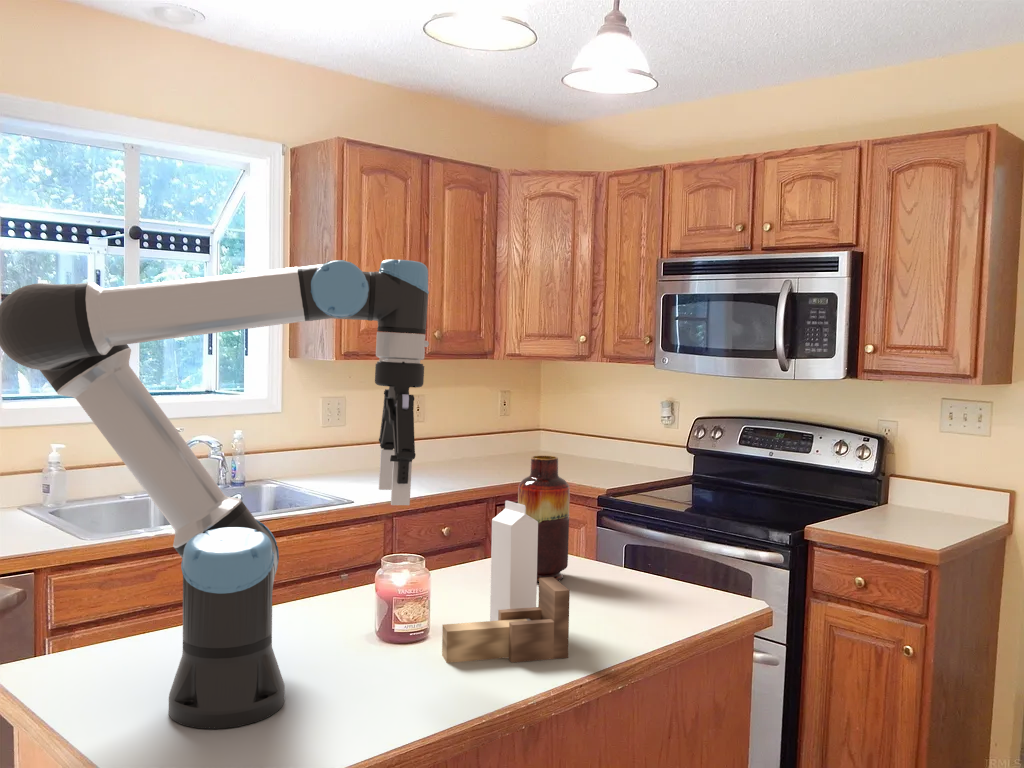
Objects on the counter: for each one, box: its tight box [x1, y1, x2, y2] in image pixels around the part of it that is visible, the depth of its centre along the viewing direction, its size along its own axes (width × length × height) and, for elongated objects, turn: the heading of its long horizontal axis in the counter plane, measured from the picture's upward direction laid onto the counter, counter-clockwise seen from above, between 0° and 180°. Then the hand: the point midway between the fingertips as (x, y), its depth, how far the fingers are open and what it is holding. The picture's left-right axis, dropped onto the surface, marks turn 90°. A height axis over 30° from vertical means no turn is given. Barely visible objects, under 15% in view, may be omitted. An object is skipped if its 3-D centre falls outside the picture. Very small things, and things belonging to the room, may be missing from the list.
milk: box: [489, 500, 538, 621], centre depth 158 cm, size 6×6×22 cm
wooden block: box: [441, 618, 531, 664], centre depth 143 cm, size 15×4×5 cm, turn 106°
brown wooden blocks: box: [498, 577, 571, 663], centre depth 145 cm, size 10×8×11 cm
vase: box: [517, 455, 571, 582], centre depth 190 cm, size 11×11×26 cm
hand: (393, 497), depth 138 cm, fingers open, 13 cm apart
